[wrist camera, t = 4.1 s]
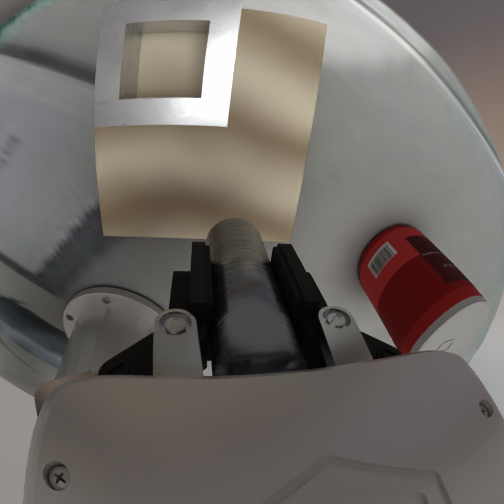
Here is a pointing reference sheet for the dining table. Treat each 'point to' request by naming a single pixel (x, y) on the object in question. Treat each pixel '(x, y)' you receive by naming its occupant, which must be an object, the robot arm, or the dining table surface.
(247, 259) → the pin
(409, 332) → the canned food
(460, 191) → the dining table surface
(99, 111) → the collar
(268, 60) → the board
